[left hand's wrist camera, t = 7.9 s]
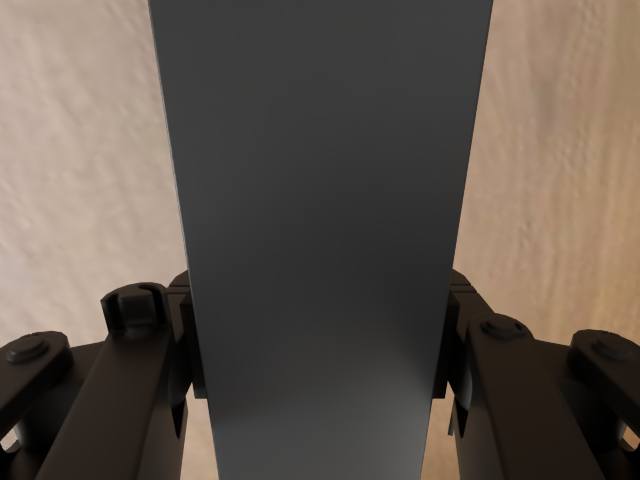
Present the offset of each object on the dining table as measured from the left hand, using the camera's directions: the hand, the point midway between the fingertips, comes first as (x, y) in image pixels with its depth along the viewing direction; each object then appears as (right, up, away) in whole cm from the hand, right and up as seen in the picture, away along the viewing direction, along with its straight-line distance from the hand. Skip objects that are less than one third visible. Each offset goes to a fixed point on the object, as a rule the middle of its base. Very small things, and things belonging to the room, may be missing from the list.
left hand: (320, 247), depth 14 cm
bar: (0, +9, -3) cm, 9 cm away
